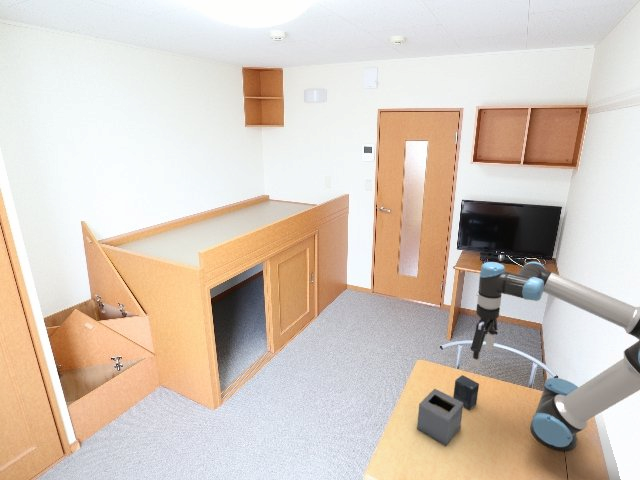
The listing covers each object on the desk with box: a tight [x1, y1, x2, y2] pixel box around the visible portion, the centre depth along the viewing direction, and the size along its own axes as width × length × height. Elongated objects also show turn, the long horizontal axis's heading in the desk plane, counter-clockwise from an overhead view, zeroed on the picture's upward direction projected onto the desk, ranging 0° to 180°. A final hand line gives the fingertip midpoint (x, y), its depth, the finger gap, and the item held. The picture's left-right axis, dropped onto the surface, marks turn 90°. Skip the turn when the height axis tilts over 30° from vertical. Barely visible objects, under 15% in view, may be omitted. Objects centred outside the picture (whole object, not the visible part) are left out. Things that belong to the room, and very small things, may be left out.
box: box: [452, 374, 480, 411], centre depth 162 cm, size 8×6×11 cm
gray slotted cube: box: [416, 388, 464, 447], centre depth 148 cm, size 12×12×12 cm
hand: (482, 357), depth 143 cm, fingers open, 13 cm apart
